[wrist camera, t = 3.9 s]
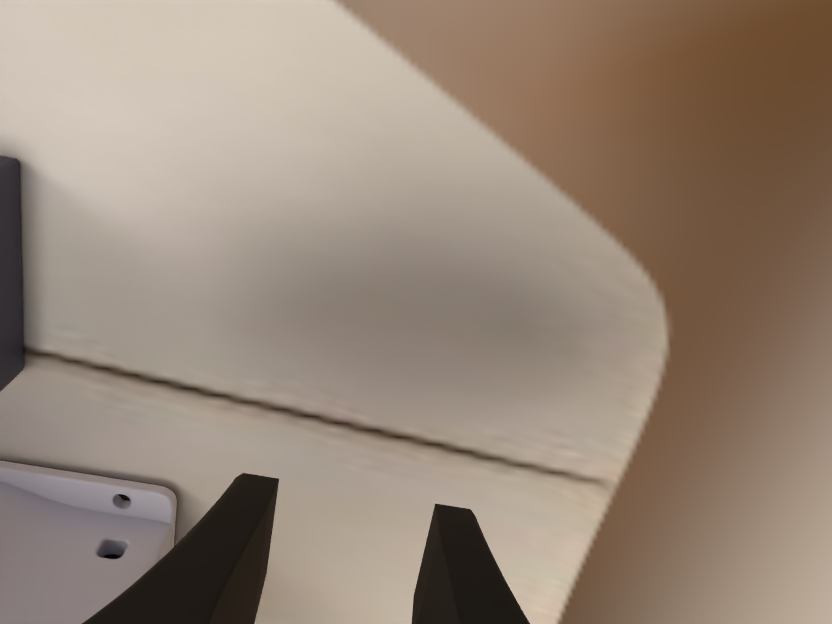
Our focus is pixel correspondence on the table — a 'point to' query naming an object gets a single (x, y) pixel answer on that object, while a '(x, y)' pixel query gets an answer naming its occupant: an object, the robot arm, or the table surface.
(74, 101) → the table surface
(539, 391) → the table surface
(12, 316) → the navy blue rectangular block
